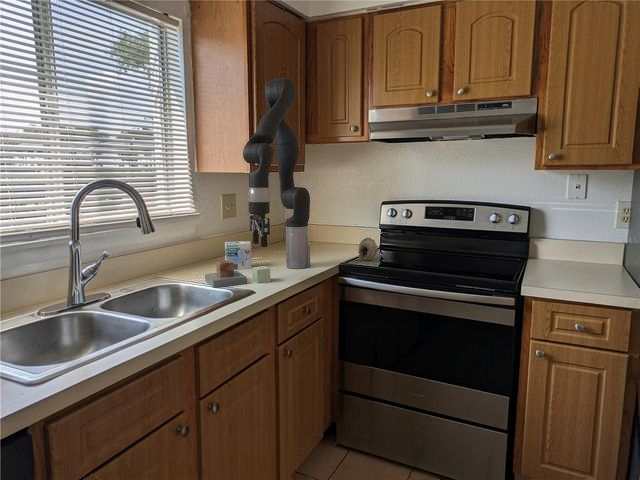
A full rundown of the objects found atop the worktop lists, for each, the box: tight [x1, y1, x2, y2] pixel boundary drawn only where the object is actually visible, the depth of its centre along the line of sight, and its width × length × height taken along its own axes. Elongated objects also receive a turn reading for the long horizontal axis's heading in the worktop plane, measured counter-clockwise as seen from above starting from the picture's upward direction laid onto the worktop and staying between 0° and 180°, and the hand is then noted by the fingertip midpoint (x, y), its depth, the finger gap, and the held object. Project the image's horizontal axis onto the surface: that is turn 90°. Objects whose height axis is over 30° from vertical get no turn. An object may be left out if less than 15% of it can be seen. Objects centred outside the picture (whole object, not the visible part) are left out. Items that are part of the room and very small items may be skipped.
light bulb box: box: [224, 240, 252, 270], centre depth 188 cm, size 11×7×11 cm, turn 105°
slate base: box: [204, 270, 248, 289], centre depth 164 cm, size 12×12×2 cm
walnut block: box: [215, 259, 235, 278], centre depth 163 cm, size 5×5×5 cm
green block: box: [251, 265, 271, 284], centre depth 165 cm, size 5×5×5 cm
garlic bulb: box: [357, 237, 378, 261], centre depth 203 cm, size 9×8×10 cm
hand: (259, 245), depth 163 cm, fingers open, 8 cm apart
